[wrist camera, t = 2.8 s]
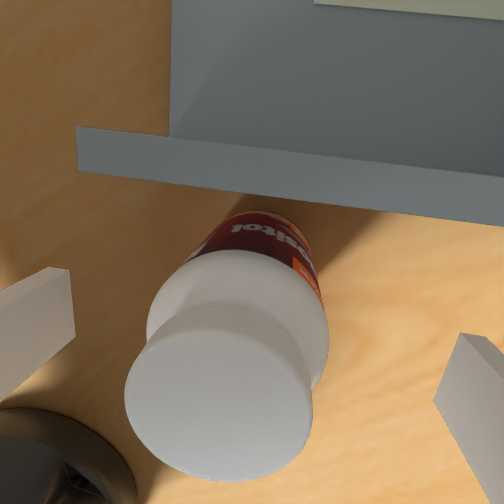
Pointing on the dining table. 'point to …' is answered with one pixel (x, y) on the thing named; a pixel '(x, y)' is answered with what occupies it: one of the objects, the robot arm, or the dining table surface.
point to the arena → (330, 106)
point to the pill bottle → (232, 354)
